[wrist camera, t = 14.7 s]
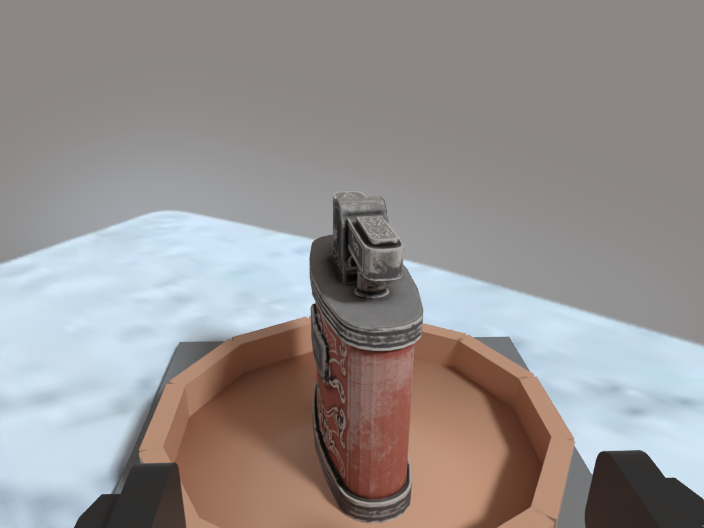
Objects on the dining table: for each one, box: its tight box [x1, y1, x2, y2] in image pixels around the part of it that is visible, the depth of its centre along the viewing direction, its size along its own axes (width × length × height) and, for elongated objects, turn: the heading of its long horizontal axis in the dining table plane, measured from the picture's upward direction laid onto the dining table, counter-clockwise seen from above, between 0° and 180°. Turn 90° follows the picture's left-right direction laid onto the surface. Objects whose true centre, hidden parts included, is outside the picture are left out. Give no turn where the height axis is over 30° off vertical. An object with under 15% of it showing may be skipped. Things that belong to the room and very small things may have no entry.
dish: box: [139, 316, 575, 528], centre depth 23 cm, size 16×16×2 cm
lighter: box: [309, 191, 423, 524], centre depth 21 cm, size 8×3×10 cm, turn 11°
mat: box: [114, 337, 592, 528], centre depth 23 cm, size 18×18×1 cm
